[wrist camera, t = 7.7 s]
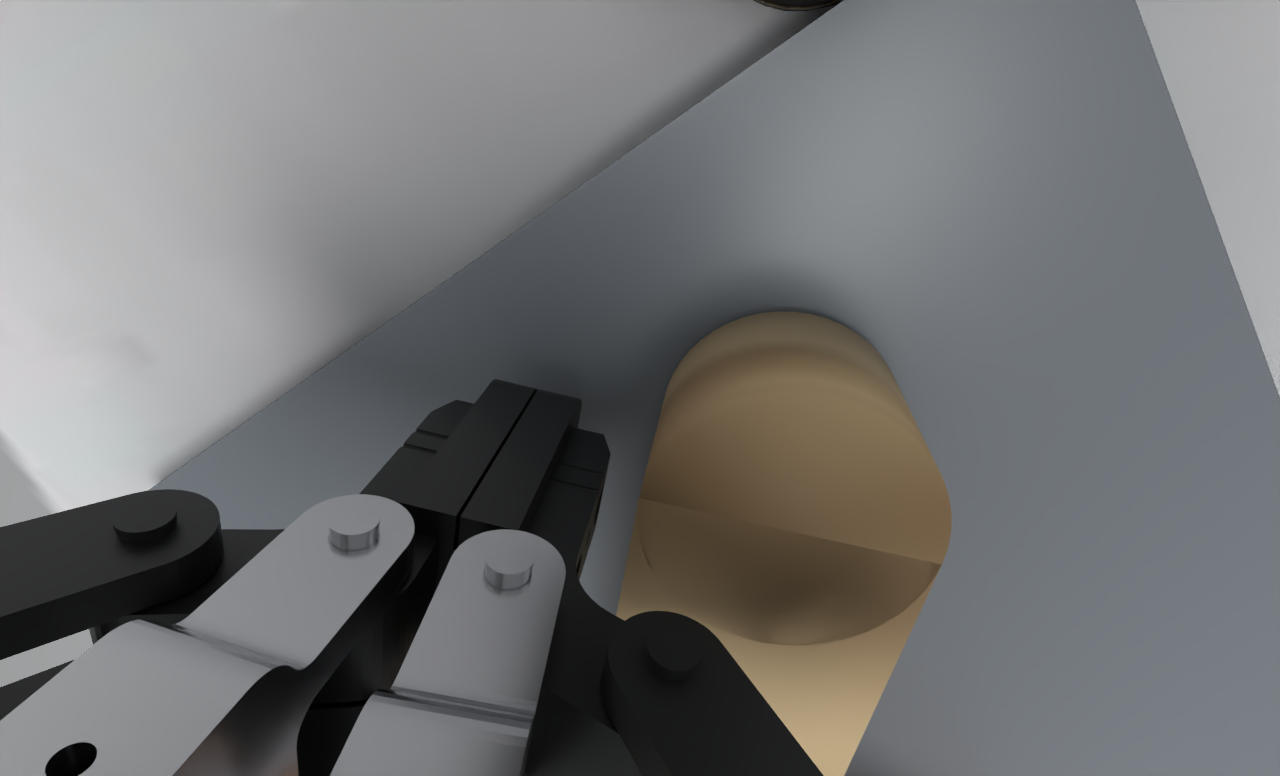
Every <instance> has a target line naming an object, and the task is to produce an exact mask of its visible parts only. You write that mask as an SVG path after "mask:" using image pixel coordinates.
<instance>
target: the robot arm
mask: <svg viewBox="0 0 1280 776" xmlns="http://www.w3.org/2000/svg"><path fill="white" fill-rule="evenodd" d="M581 405H582V401H581V399H579V398H575V397H571V396H566V395H562V394H558V393H554V392H549V391H545V390H541V389H539V390H538V389H536V388H532V387H528V386H523V385H519V384H515V383H511V382H507V381H502V380H498V379H494V380H493V381H492V382H491V383H490V384H489V385H488V387H487V388H486V389H485V391H484V392H483V393H482V395H481V396H480V397H479V398H478V400H477V401H476V402H475V404H473V403H469V402H464V401H460V400H454V401H452V402H450V403H448V404H446V405H444V406H442V407H440V408H438V409H435V410H433V411H431V412H430V414H429V415H428V416H427V417H426V418H425V419H424V420H423V422H422V423H421V424H420V425H419V426H418V427H417V428H416V432H413V433H412V434H411V435H410V436H409V438H408V439H407V440H406V441H405V442H404V445H403V447H400V448H399V449H398V450H397V451H396V452H395V454H394V455H393V456H392V457H391V458H390V459H389V460H388V462H387V463H386V464H385V465H384V466H383V467H382V468H381V470H380V471H379V472H378V473H377V474H376V475H375V476H374V478H373V479H372V480H371V481H370V482H369V483H368V484H367V486H366V487H365V488H364V489H363V490H362V491H361V492H360V494H355V495H345V496H340V497H335V498H332V499H328V500H326V501H323V502H321V503H318V504H316V505H315V506H313V507H311V508H309V509H308V510H307V511H305V512H304V513H303V514H302V515H301V516H299V517H298V518H297V519H296V520H295V521H294V522H293V523H292V524H291V525H289V526H288V527H287V528H286V529H274V530H267V529H221V522H220V514H219V511H218V508H217V507H216V505H215V504H214V503H213V502H212V501H211V500H209V499H208V498H207V497H204V496H202V495H200V494H197V493H194V492H191V491H184V490H174V489H162V490H151V491H144V492H139V493H134V494H130V495H126V496H122V497H118V498H114V499H110V500H106V501H102V502H98V503H95V504H91V505H87V506H83V507H79V508H75V509H71V510H67V511H63V512H59V513H55V514H51V515H47V516H43V517H40V518H36V519H32V520H28V521H24V522H20V523H16V524H13V525H9V526H4V527H0V660H2V659H4V658H7V657H10V656H13V655H15V654H19V653H21V652H24V651H27V650H30V649H33V648H36V647H38V646H41V645H44V644H47V643H50V642H52V641H55V640H58V639H61V638H64V637H67V636H69V635H72V634H75V633H78V632H81V631H84V630H86V629H89V630H90V634H91V638H92V642H93V645H92V646H91V647H90V648H89V649H88V650H86V651H85V652H84V653H83V654H81V655H80V656H79V657H78V658H76V659H75V660H72V661H70V662H67V663H64V664H62V665H59V666H56V667H54V668H51V669H48V670H46V671H43V672H40V673H38V674H35V675H32V676H30V677H27V678H24V679H22V680H19V681H16V682H14V683H11V684H8V685H6V686H3V687H0V776H824V775H823V774H822V773H821V772H820V770H819V769H818V768H817V766H816V765H815V764H814V762H813V761H812V760H811V758H810V757H809V756H808V755H807V753H806V752H805V751H804V749H803V748H802V747H801V745H800V744H799V743H798V742H797V740H796V739H795V738H794V736H793V735H792V734H791V732H790V731H789V730H788V729H787V727H786V726H785V725H784V723H783V722H782V721H781V719H780V718H779V717H778V716H777V714H776V713H775V712H774V710H773V709H772V708H771V706H770V705H769V704H768V703H767V701H766V700H765V699H764V697H763V696H762V695H761V693H760V692H759V691H758V690H757V688H756V687H755V686H754V684H753V683H752V682H751V680H750V679H749V678H748V676H747V675H746V674H745V673H744V671H743V670H742V669H741V667H740V666H739V665H738V663H737V662H736V661H735V660H734V658H733V657H732V656H731V654H730V653H729V652H728V650H727V649H726V648H725V647H724V645H723V644H722V643H721V641H720V640H719V639H718V638H717V637H716V636H715V635H714V634H713V633H712V632H711V631H710V630H709V629H708V628H706V627H705V626H704V625H702V624H700V623H699V622H697V621H695V620H693V619H691V618H689V617H687V616H684V615H681V614H678V613H674V612H669V611H648V612H643V613H639V614H637V615H634V616H632V617H630V618H628V619H627V620H625V621H624V620H622V619H621V618H619V617H617V616H615V615H614V614H612V613H610V612H608V611H607V610H605V609H604V608H602V607H600V606H599V605H598V604H597V603H596V602H595V601H593V600H592V599H591V598H590V596H589V595H588V594H587V593H586V592H585V590H584V589H583V587H582V586H581V584H580V581H579V580H580V577H581V573H582V570H583V566H584V564H585V560H586V557H587V554H588V550H589V547H590V544H591V541H592V538H593V534H594V531H595V528H596V524H597V519H598V514H599V509H600V504H601V499H602V494H603V490H604V485H605V480H606V475H607V470H608V465H609V460H610V455H611V453H610V451H609V448H608V445H607V442H606V439H605V436H604V434H600V433H595V432H591V431H587V430H583V429H579V428H578V424H579V419H580V413H581Z"/></svg>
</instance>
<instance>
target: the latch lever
mask: <svg viewBox="0 0 1280 776" xmlns="http://www.w3.org/2000/svg"><path fill="white" fill-rule="evenodd" d="M951 525H952V513H951V506H950V499H949V495H948V492H947V489H946V486H945V483H944V480H943V478H942V475H941V473H940V471H939V469H938V467H937V465H936V463H935V461H934V459H933V457H932V455H931V453H930V451H929V448H928V446H927V444H926V442H925V440H924V438H923V436H922V434H921V432H920V430H919V428H918V426H917V424H916V421H915V419H914V417H913V415H912V413H911V411H910V409H909V407H908V405H907V403H906V401H905V399H904V397H903V394H902V392H901V390H900V388H899V386H898V384H897V382H896V380H895V378H894V376H893V374H892V372H891V370H890V368H889V366H888V365H887V363H886V362H885V361H884V359H883V358H882V356H881V355H880V354H879V353H878V352H877V351H876V349H875V348H874V347H873V346H872V345H871V344H870V343H869V342H867V341H866V340H865V339H864V338H862V337H861V336H860V335H858V334H857V333H856V332H854V331H852V330H851V329H849V328H847V327H845V326H844V325H842V324H839V323H837V322H834V321H832V320H830V319H827V318H824V317H820V316H816V315H812V314H807V313H800V312H768V313H759V314H755V315H751V316H747V317H743V318H740V319H738V320H735V321H732V322H730V323H727V324H725V325H724V326H722V327H720V328H718V329H716V330H714V331H713V332H711V333H710V334H708V335H707V336H705V337H704V338H703V339H701V340H700V341H699V342H698V343H697V344H696V345H695V346H694V347H692V348H691V349H690V350H689V352H688V353H687V354H686V355H685V356H684V358H683V359H682V360H681V361H680V363H679V365H678V366H677V368H676V369H675V371H674V373H673V375H672V377H671V379H670V381H669V384H668V386H667V390H666V393H665V397H664V401H663V405H662V409H661V413H660V417H659V420H658V424H657V428H656V432H655V436H654V440H653V444H652V448H651V452H650V456H649V460H648V464H647V468H646V472H645V476H644V480H643V484H642V488H641V491H640V495H639V500H638V505H637V510H636V515H635V520H634V526H633V531H632V536H631V541H630V546H629V551H628V557H627V562H626V567H625V572H624V577H623V582H622V588H621V593H620V598H619V603H618V608H617V613H616V616H617V617H619V618H621V619H622V620H624V621H625V620H627V619H628V618H630V617H632V616H634V615H637V614H639V613H643V612H648V611H669V612H674V613H678V614H681V615H684V616H687V617H689V618H691V619H693V620H695V621H697V622H699V623H700V624H702V625H704V626H705V627H706V628H708V629H709V630H710V631H711V632H712V633H713V634H714V635H715V636H716V637H717V638H718V639H719V640H720V641H721V643H722V644H723V645H724V647H725V648H726V649H727V650H728V652H729V653H730V654H731V656H732V657H733V658H734V660H735V661H736V662H737V663H738V665H739V666H740V667H741V669H742V670H743V671H744V673H745V674H746V675H747V676H748V678H749V679H750V680H751V682H752V683H753V684H754V686H755V687H756V688H757V690H758V691H759V692H760V693H761V695H762V696H763V697H764V699H765V700H766V701H767V703H768V704H769V705H770V706H771V708H772V709H773V710H774V712H775V713H776V714H777V716H778V717H779V718H780V719H781V721H782V722H783V723H784V725H785V726H786V727H787V729H788V730H789V731H790V732H791V734H792V735H793V736H794V738H795V739H796V740H797V742H798V743H799V744H800V745H801V747H802V748H803V749H804V751H805V752H806V753H807V755H808V756H809V757H810V758H811V760H812V761H813V762H814V764H815V765H816V766H817V768H818V769H819V770H820V772H821V773H822V774H823V775H824V776H844V775H845V773H846V771H847V768H848V766H849V764H850V762H851V760H852V758H853V755H854V753H855V751H856V749H857V747H858V745H859V743H860V740H861V738H862V736H863V734H864V732H865V730H866V727H867V725H868V723H869V721H870V719H871V717H872V714H873V712H874V710H875V708H876V706H877V704H878V702H879V699H880V697H881V695H882V693H883V691H884V689H885V686H886V684H887V682H888V680H889V678H890V676H891V674H892V671H893V669H894V667H895V665H896V663H897V661H898V658H899V656H900V654H901V652H902V650H903V648H904V646H905V643H906V641H907V639H908V637H909V635H910V633H911V630H912V628H913V626H914V624H915V622H916V620H917V617H918V615H919V613H920V611H921V609H922V607H923V605H924V602H925V600H926V598H927V596H928V594H929V592H930V589H931V587H932V585H933V583H934V581H935V579H936V577H937V574H938V572H939V570H940V568H941V566H942V563H943V561H944V558H945V555H946V553H947V550H948V546H949V541H950V536H951Z"/></svg>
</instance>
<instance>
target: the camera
mask: <svg viewBox="0 0 1280 776" xmlns="http://www.w3.org/2000/svg"><path fill="white" fill-rule="evenodd" d="M754 1H756V2H758V3H760V4H762V5H764V6H767V7H772V8H776V9H780V10H784V11H808V10H813V9H817V8H822V7H826V6H829V5H831V4H833V3H836V2H838V1H840V0H754Z"/></svg>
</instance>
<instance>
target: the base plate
mask: <svg viewBox="0 0 1280 776" xmlns="http://www.w3.org/2000/svg"><path fill="white" fill-rule="evenodd" d="M768 312H800V313H807V314H812V315H816V316H820V317H824V318H827V319H830V320H832V321H834V322H837V323H839V324H842V325H844V326H845V327H847V328H849V329H851V330H852V331H854V332H856V333H857V334H858V335H860V336H861V337H862V338H864V339H865V340H866V341H867V342H869V343H870V344H871V345H872V346H873V347H874V348H875V349H876V351H877V352H878V353H879V354H880V355H881V356H882V358H883V359H884V361H885V362H886V363H887V365H888V366H889V368H890V370H891V372H892V374H893V376H894V378H895V380H896V382H897V384H898V386H899V388H900V390H901V392H902V394H903V397H904V399H905V401H906V403H907V405H908V407H909V409H910V411H911V413H912V415H913V417H914V419H915V421H916V424H917V426H918V428H919V430H920V432H921V434H922V436H923V438H924V440H925V442H926V444H927V446H928V448H929V451H930V453H931V455H932V457H933V459H934V461H935V463H936V465H937V467H938V469H939V471H940V473H941V475H942V478H943V480H944V483H945V486H946V489H947V492H948V495H949V499H950V506H951V513H952V525H951V536H950V541H949V546H948V550H947V553H946V555H945V558H944V561H943V563H942V566H941V568H940V570H939V572H938V574H937V577H936V579H935V581H934V583H933V585H932V587H931V589H930V592H929V594H928V596H927V598H926V600H925V602H924V605H923V607H922V609H921V611H920V613H919V615H918V617H917V620H916V622H915V624H914V626H913V628H912V630H911V633H910V635H909V637H908V639H907V641H906V643H905V646H904V648H903V650H902V652H901V654H900V656H899V658H898V661H897V663H896V665H895V667H894V669H893V671H892V674H891V676H890V678H889V680H888V682H887V684H886V686H885V689H884V691H883V693H882V695H881V697H880V699H879V702H878V704H877V706H876V708H875V710H874V712H873V714H872V717H871V719H870V721H869V723H868V725H867V727H866V730H865V732H864V734H863V736H862V738H861V740H860V743H859V745H858V747H857V749H856V751H855V753H854V755H853V758H852V760H851V762H850V764H849V766H848V768H847V771H846V773H845V775H844V776H1280V397H1279V394H1278V392H1277V389H1276V386H1275V383H1274V381H1273V378H1272V375H1271V372H1270V370H1269V367H1268V364H1267V361H1266V359H1265V356H1264V353H1263V350H1262V348H1261V345H1260V342H1259V339H1258V337H1257V334H1256V331H1255V328H1254V326H1253V323H1252V320H1251V317H1250V315H1249V312H1248V309H1247V306H1246V304H1245V301H1244V298H1243V295H1242V293H1241V290H1240V287H1239V284H1238V282H1237V279H1236V276H1235V273H1234V271H1233V268H1232V265H1231V262H1230V260H1229V257H1228V254H1227V251H1226V249H1225V246H1224V243H1223V240H1222V238H1221V235H1220V232H1219V229H1218V227H1217V224H1216V221H1215V218H1214V216H1213V213H1212V210H1211V207H1210V205H1209V202H1208V199H1207V196H1206V194H1205V191H1204V188H1203V185H1202V183H1201V180H1200V177H1199V174H1198V172H1197V169H1196V166H1195V163H1194V161H1193V158H1192V155H1191V152H1190V150H1189V147H1188V144H1187V141H1186V139H1185V136H1184V133H1183V130H1182V128H1181V125H1180V122H1179V119H1178V117H1177V114H1176V111H1175V108H1174V106H1173V103H1172V100H1171V97H1170V95H1169V92H1168V89H1167V86H1166V84H1165V81H1164V78H1163V75H1162V73H1161V70H1160V67H1159V64H1158V62H1157V59H1156V56H1155V53H1154V50H1153V48H1152V45H1151V42H1150V39H1149V37H1148V34H1147V31H1146V28H1145V26H1144V23H1143V20H1142V17H1141V15H1140V12H1139V9H1138V6H1137V4H1136V1H1135V0H843V1H842V2H841V3H839V4H838V5H836V6H835V7H833V8H832V9H831V10H829V11H828V12H826V13H825V14H824V15H822V16H821V17H819V18H818V19H816V20H815V21H814V22H812V23H811V24H809V25H808V26H806V27H805V28H804V29H802V30H801V31H799V32H798V33H797V34H795V35H794V36H792V37H791V38H789V39H788V40H787V41H785V42H784V43H782V44H781V45H780V46H778V47H777V48H775V49H774V50H772V51H771V52H770V53H768V54H767V55H765V56H764V57H763V58H761V59H760V60H758V61H757V62H755V63H754V64H753V65H751V66H750V67H748V68H747V69H746V70H744V71H743V72H741V73H740V74H738V75H737V76H736V77H734V78H733V79H731V80H730V81H728V82H727V83H726V84H724V85H723V86H721V87H720V88H719V89H717V90H716V91H714V92H713V93H711V94H710V95H709V96H707V97H706V98H704V99H703V100H702V101H700V102H699V103H697V104H696V105H694V106H693V107H692V108H690V109H689V110H687V111H686V112H685V113H683V114H682V115H680V116H679V117H677V118H676V119H675V120H673V121H672V122H670V123H669V124H668V125H666V126H665V127H663V128H662V129H660V130H659V131H658V132H656V133H655V134H653V135H652V136H650V137H649V138H648V139H646V140H645V141H643V142H642V143H641V144H639V145H638V146H636V147H635V148H633V149H632V150H631V151H629V152H628V153H626V154H625V155H624V156H622V157H621V158H619V159H618V160H616V161H615V162H614V163H612V164H611V165H609V166H608V167H607V168H605V169H604V170H602V171H601V172H599V173H598V174H597V175H595V176H594V177H592V178H591V179H590V180H588V181H587V182H585V183H584V184H582V185H581V186H580V187H578V188H577V189H575V190H574V191H572V192H571V193H570V194H568V195H567V196H565V197H564V198H563V199H561V200H560V201H558V202H557V203H555V204H554V205H553V206H551V207H550V208H548V209H547V210H546V211H544V212H543V213H541V214H540V215H538V216H537V217H536V218H534V219H533V220H531V221H530V222H529V223H527V224H526V225H524V226H523V227H521V228H520V229H519V230H517V231H516V232H514V233H513V234H511V235H510V236H509V237H507V238H506V239H504V240H503V241H502V242H500V243H499V244H497V245H496V246H494V247H493V248H492V249H490V250H489V251H487V252H486V253H485V254H483V255H482V256H480V257H479V258H477V259H476V260H475V261H473V262H472V263H470V264H469V265H468V266H466V267H465V268H463V269H462V270H460V271H459V272H458V273H456V274H455V275H453V276H452V277H451V278H449V279H448V280H446V281H445V282H443V283H442V284H441V285H439V286H438V287H436V288H435V289H433V290H432V291H431V292H429V293H428V294H426V295H425V296H424V297H422V298H421V299H419V300H418V301H416V302H415V303H414V304H412V305H411V306H409V307H408V308H407V309H405V310H404V311H402V312H401V313H399V314H398V315H397V316H395V317H394V318H392V319H391V320H390V321H388V322H387V323H385V324H384V325H382V326H381V327H380V328H378V329H377V330H375V331H374V332H373V333H371V334H370V335H368V336H367V337H365V338H364V339H363V340H361V341H360V342H358V343H357V344H355V345H354V346H353V347H351V348H350V349H348V350H347V351H346V352H344V353H343V354H341V355H340V356H338V357H337V358H336V359H334V360H333V361H331V362H330V363H329V364H327V365H326V366H324V367H323V368H321V369H320V370H319V371H317V372H316V373H314V374H313V375H312V376H310V377H309V378H307V379H306V380H304V381H303V382H302V383H300V384H299V385H297V386H296V387H295V388H293V389H292V390H290V391H289V392H287V393H286V394H285V395H283V396H282V397H280V398H279V399H277V400H276V401H275V402H273V403H272V404H270V405H269V406H268V407H266V408H265V409H263V410H262V411H260V412H259V413H258V414H256V415H255V416H253V417H252V418H251V419H249V420H248V421H246V422H245V423H243V424H242V425H241V426H239V427H238V428H236V429H235V430H234V431H232V432H231V433H229V434H228V435H226V436H225V437H224V438H222V439H221V440H219V441H218V442H217V443H215V444H214V445H212V446H211V447H209V448H208V449H207V450H205V451H204V452H202V453H201V454H199V455H198V456H197V457H195V458H194V459H192V460H191V461H190V462H188V463H187V464H185V465H184V466H182V467H181V468H180V469H178V470H177V471H175V472H174V473H173V474H171V475H170V476H168V477H167V478H165V479H164V480H163V481H161V482H160V483H158V484H157V485H156V486H154V487H153V488H151V489H150V490H148V491H151V490H162V489H174V490H184V491H191V492H194V493H197V494H200V495H202V496H204V497H207V498H208V499H209V500H211V501H212V502H213V503H214V504H215V505H216V507H217V508H218V511H219V514H220V522H221V529H267V530H274V529H286V528H287V527H288V526H289V525H291V524H292V523H293V522H294V521H295V520H296V519H297V518H298V517H299V516H301V515H302V514H303V513H304V512H305V511H307V510H308V509H309V508H311V507H313V506H315V505H316V504H318V503H321V502H323V501H326V500H328V499H332V498H335V497H340V496H345V495H355V494H360V492H361V491H362V490H363V489H364V488H365V487H366V486H367V484H368V483H369V482H370V481H371V480H372V479H373V478H374V476H375V475H376V474H377V473H378V472H379V471H380V470H381V468H382V467H383V466H384V465H385V464H386V463H387V462H388V460H389V459H390V458H391V457H392V456H393V455H394V454H395V452H396V451H397V450H398V449H399V448H400V447H403V445H404V442H405V441H406V440H407V439H408V438H409V436H410V435H411V434H412V433H413V432H416V428H417V427H418V426H419V425H420V424H421V423H422V422H423V420H424V419H425V418H426V417H427V416H428V415H429V414H430V412H431V411H433V410H435V409H438V408H440V407H442V406H444V405H446V404H448V403H450V402H452V401H454V400H460V401H464V402H469V403H473V404H475V402H476V401H477V400H478V398H479V397H480V396H481V395H482V393H483V392H484V391H485V389H486V388H487V387H488V385H489V384H490V383H491V382H492V381H493V380H494V379H498V380H502V381H507V382H511V383H515V384H519V385H523V386H528V387H532V388H536V389H538V390H539V389H541V390H545V391H549V392H554V393H558V394H562V395H566V396H571V397H575V398H579V399H581V401H582V405H581V413H580V419H579V424H578V428H579V429H583V430H587V431H591V432H595V433H600V434H604V436H605V439H606V442H607V445H608V448H609V451H610V453H611V455H610V460H609V465H608V470H607V475H606V480H605V485H604V490H603V494H602V499H601V504H600V509H599V514H598V519H597V524H596V528H595V531H594V534H593V538H592V541H591V544H590V547H589V550H588V554H587V557H586V560H585V564H584V566H583V570H582V573H581V577H580V580H579V581H580V584H581V586H582V587H583V589H584V590H585V592H586V593H587V594H588V595H589V596H590V598H591V599H592V600H593V601H595V602H596V603H597V604H598V605H599V606H600V607H602V608H604V609H605V610H607V611H608V612H610V613H612V614H614V615H615V616H616V613H617V608H618V603H619V598H620V593H621V588H622V582H623V577H624V572H625V567H626V562H627V557H628V551H629V546H630V541H631V536H632V531H633V526H634V520H635V515H636V510H637V505H638V500H639V495H640V491H641V488H642V484H643V480H644V476H645V472H646V468H647V464H648V460H649V456H650V452H651V448H652V444H653V440H654V436H655V432H656V428H657V424H658V420H659V417H660V413H661V409H662V405H663V401H664V397H665V393H666V390H667V386H668V384H669V381H670V379H671V377H672V375H673V373H674V371H675V369H676V368H677V366H678V365H679V363H680V361H681V360H682V359H683V358H684V356H685V355H686V354H687V353H688V352H689V350H690V349H691V348H692V347H694V346H695V345H696V344H697V343H698V342H699V341H700V340H701V339H703V338H704V337H705V336H707V335H708V334H710V333H711V332H713V331H714V330H716V329H718V328H720V327H722V326H724V325H725V324H727V323H730V322H732V321H735V320H738V319H740V318H743V317H747V316H751V315H755V314H759V313H768Z"/></svg>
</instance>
